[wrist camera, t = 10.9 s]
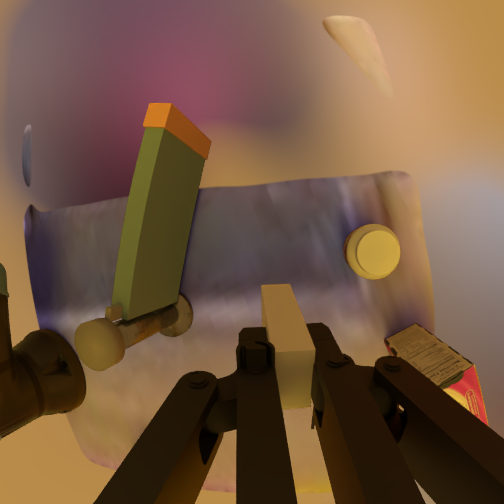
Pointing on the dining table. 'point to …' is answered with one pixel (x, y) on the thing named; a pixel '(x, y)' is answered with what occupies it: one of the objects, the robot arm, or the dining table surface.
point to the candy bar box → (440, 366)
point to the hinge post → (158, 322)
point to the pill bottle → (372, 251)
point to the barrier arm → (150, 231)
